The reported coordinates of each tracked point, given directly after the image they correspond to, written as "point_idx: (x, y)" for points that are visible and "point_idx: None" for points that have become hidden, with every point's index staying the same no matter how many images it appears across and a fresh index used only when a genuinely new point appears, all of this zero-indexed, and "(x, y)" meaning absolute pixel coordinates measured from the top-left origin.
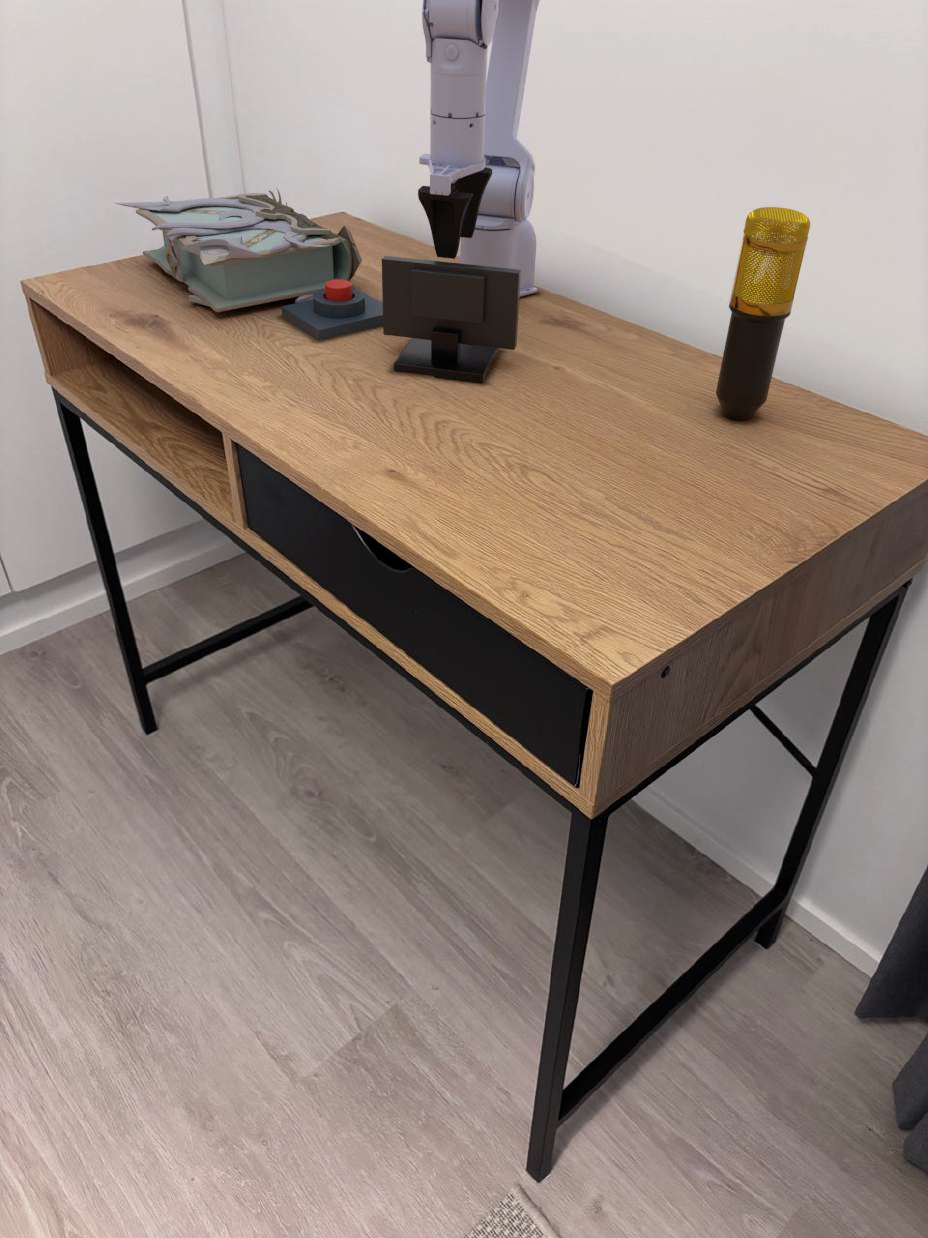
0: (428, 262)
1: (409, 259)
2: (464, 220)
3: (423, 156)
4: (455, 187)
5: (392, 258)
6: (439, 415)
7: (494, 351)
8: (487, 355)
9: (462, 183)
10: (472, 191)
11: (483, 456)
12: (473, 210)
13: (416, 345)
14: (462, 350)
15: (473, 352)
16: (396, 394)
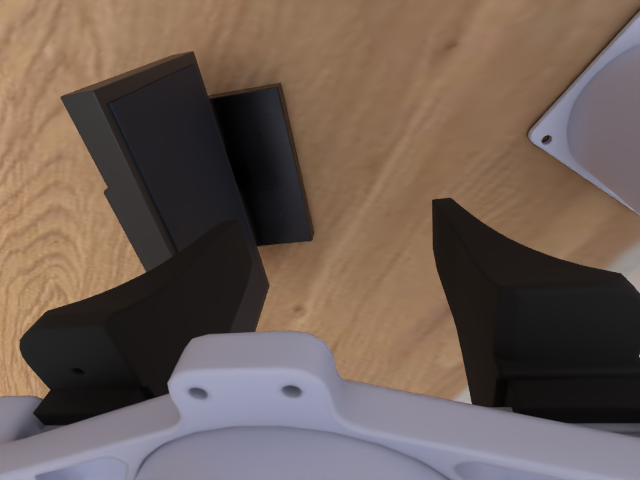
0: (141, 231)
1: (122, 178)
2: (444, 258)
3: (214, 392)
4: (476, 306)
5: (90, 128)
6: (74, 227)
7: (277, 242)
8: (255, 238)
9: (477, 348)
10: (469, 355)
11: (39, 296)
12: (454, 306)
13: (224, 115)
14: (252, 198)
15: (254, 216)
16: (76, 149)
